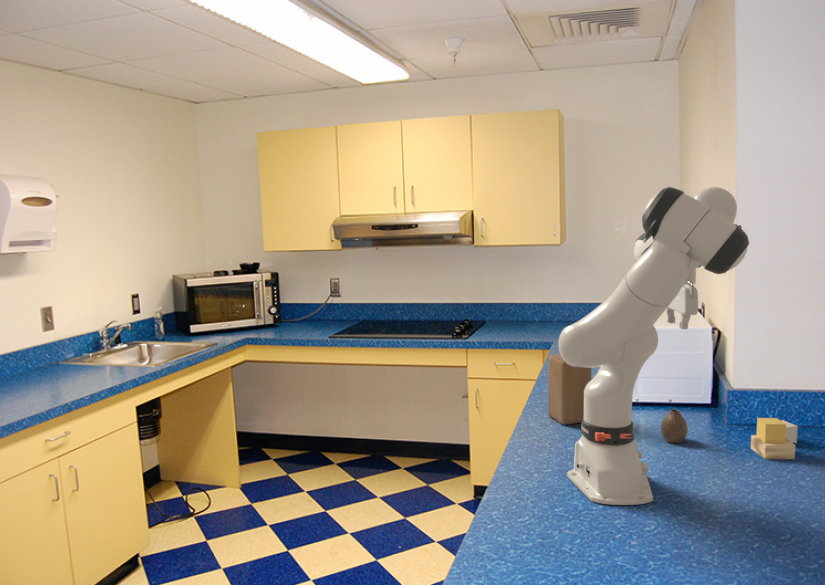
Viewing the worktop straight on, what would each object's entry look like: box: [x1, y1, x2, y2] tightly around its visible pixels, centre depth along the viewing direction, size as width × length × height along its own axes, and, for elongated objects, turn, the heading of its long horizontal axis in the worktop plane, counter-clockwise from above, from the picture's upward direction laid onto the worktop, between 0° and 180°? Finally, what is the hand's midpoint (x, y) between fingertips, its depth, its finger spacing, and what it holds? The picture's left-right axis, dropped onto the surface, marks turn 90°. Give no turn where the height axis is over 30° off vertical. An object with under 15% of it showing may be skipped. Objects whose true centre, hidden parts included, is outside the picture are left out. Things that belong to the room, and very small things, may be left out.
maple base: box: [750, 434, 796, 460], centre depth 168 cm, size 8×8×4 cm
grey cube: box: [781, 419, 798, 444], centre depth 176 cm, size 5×5×5 cm
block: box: [547, 353, 592, 426], centre depth 197 cm, size 10×10×20 cm
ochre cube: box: [756, 417, 786, 443], centre depth 167 cm, size 5×5×5 cm
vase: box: [660, 408, 689, 444], centre depth 178 cm, size 7×7×9 cm
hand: (677, 325), depth 182 cm, fingers open, 8 cm apart
